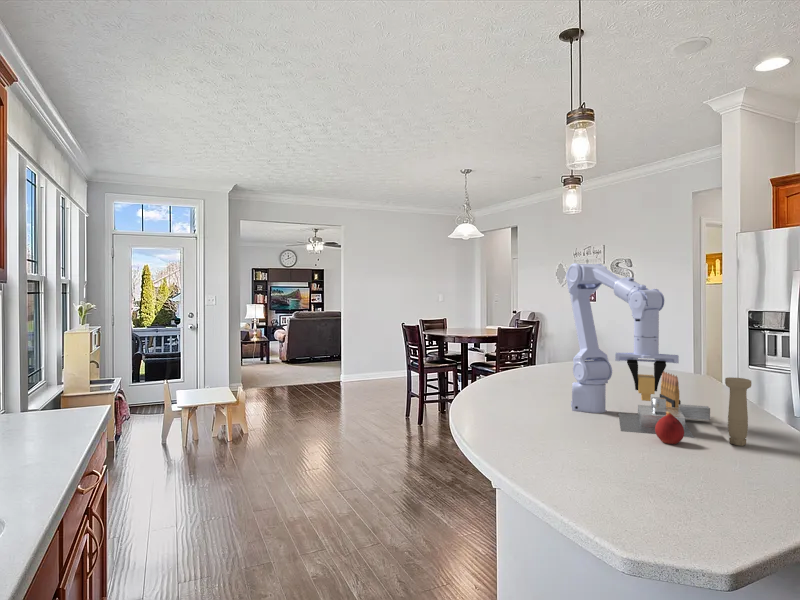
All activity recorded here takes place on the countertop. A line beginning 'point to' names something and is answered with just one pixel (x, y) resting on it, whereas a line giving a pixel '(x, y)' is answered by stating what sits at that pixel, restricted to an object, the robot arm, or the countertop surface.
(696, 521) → the countertop surface
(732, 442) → the handle
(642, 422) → the grey stepped platform
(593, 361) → the robot arm
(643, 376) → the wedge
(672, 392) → the ammunition clip
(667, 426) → the onion
